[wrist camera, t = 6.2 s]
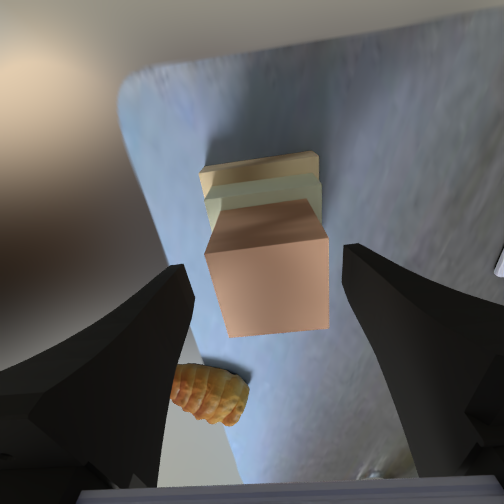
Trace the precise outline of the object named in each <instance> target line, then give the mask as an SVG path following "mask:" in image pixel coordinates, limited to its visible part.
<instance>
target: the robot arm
mask: <svg viewBox="0 0 504 504" xmlns="http://www.w3.org/2000/svg"><path fill="white" fill-rule="evenodd" d="M494 274H495V275H497V276H499V277H504V249H503V252H502V254H501V256H500V259H499V261H498V263H497V265H496V268H495V270H494ZM342 285H343V288H344V291H345V294H346V296H347V299H348V302H349V304H350V306H351V308H352V310H353V312H354V314H355V315H356V317H357V319H358V321H359V323H360V325H361V327H362V329H363V331H364V333H365V335H366V337H367V338H368V340H369V342H370V344H371V346H372V348H373V350H374V353H375V355H376V357H377V360H378V362H379V365H380V367H381V370H382V372H383V375H384V377H385V380H386V382H387V385H388V388H389V391H390V393H391V396H392V399H393V401H394V404H395V407H396V410H397V412H398V415H399V418H400V421H401V424H402V427H403V430H404V432H405V435H406V438H407V441H408V444H409V447H410V451H411V454H412V457H413V460H414V463H415V466H416V469H417V472H418V475H419V478H399V479H375V480H374V479H373V480H346V481H320V482H293V483H266V484H241V485H213V486H187V487H161V488H157V481H158V472H159V465H160V457H161V449H162V442H163V436H164V430H165V423H166V417H167V412H168V406H169V400H170V395H171V390H172V385H173V380H174V376H175V371H176V367H177V364H178V360H179V357H180V354H181V351H182V347H183V344H184V341H185V338H186V335H187V332H188V329H189V325H190V322H191V319H192V314H193V309H194V302H195V296H194V293H193V290H192V287H191V284H190V281H189V279H188V276H187V273H186V270H185V267H184V264H178V265H170V266H169V267H167V268H166V269H165V270H164V271H162V272H161V273H160V274H159V275H157V276H156V277H155V278H154V279H153V280H151V281H150V282H149V283H148V284H147V285H145V286H144V287H143V288H142V289H141V290H139V291H138V292H137V293H136V294H135V295H133V296H132V297H130V298H129V299H128V300H127V301H125V302H124V303H123V304H121V305H120V306H119V307H117V308H116V309H115V310H113V311H112V312H110V313H109V314H107V315H106V316H104V317H103V318H101V319H100V320H98V321H97V322H95V323H94V324H92V325H91V326H89V327H87V328H85V329H84V330H82V331H80V332H78V333H77V334H75V335H73V336H71V337H70V338H68V339H66V340H65V341H63V342H61V343H59V344H57V345H55V346H53V347H51V348H49V349H47V350H46V351H44V352H41V353H39V354H37V355H36V356H33V357H31V358H29V359H27V360H25V361H23V362H21V363H18V364H16V365H14V366H12V367H10V368H7V369H5V370H3V371H0V504H504V306H503V305H500V304H496V303H493V302H490V301H487V300H483V299H480V298H477V297H474V296H471V295H468V294H465V293H462V292H459V291H457V290H454V289H451V288H449V287H446V286H444V285H441V284H439V283H436V282H434V281H431V280H429V279H427V278H424V277H422V276H420V275H418V274H416V273H414V272H412V271H409V270H407V269H405V268H403V267H401V266H399V265H398V264H396V263H394V262H392V261H390V260H388V259H386V258H385V257H383V256H381V255H379V254H377V253H376V252H374V251H372V250H370V249H368V248H367V247H365V246H363V245H361V244H359V243H356V244H348V245H344V248H343V267H342Z"/></svg>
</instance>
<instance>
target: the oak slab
mask: <svg viewBox="0 0 504 504" xmlns="http://www.w3.org/2000/svg"><path fill="white" fill-rule="evenodd" d="M306 173H313V174H314V176H315V177H316V178H317V179H318V180H319V156H318V155H317V154H316V153H315V152H313V151H305V152H298V153H292V154H285V155H278V156H271V157H264V158H258V159H251V160H244V161H237V162H231V163H224V164H217V165H210V166H204V168H203V169H202V170H201V171H200V172H199V177H200V181H201V185H202V189H203V193H204V197H206V196H207V194H208V192H209V190H210V188H211V187H212V186H218V185H225V184H232V183H240V182H247V181H254V180H262V179H269V178H276V177H284V176H291V175H299V174H306Z"/></svg>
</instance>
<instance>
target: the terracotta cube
mask: <svg viewBox="0 0 504 504" xmlns="http://www.w3.org/2000/svg"><path fill="white" fill-rule="evenodd" d="M204 255H205V258H206V262H207V265H208V268H209V272H210V275H211V279H212V282H213V285H214V289H215V292H216V295H217V299H218V302H219V305H220V309H221V312H222V315H223V319H224V322H225V326H226V329H227V332H228V336H229V338H233V337H244V336H254V335H265V334H276V333H286V332H297V331H307V330H318V329H329V238H328V236H327V234H326V232H325V230H324V229H323V227H322V225H321V223H320V221H319V220H318V218H317V216H316V214H315V213H314V211H313V209H312V207H311V205H310V204H309V202H308V200H307V198H305V199H299V200H292V201H285V202H278V203H271V204H264V205H258V206H251V207H244V208H237V209H230V210H223V211H220V214H219V216H218V219H217V222H216V224H215V227H214V230H213V232H212V235H211V237H210V240H209V243H208V245H207V248H206V251H205V253H204Z"/></svg>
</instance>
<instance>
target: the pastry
mask: <svg viewBox="0 0 504 504" xmlns="http://www.w3.org/2000/svg"><path fill="white" fill-rule="evenodd" d="M249 390H250V389H249V387H248V385H247V384H246V383H245V382H244V381H243V379H242V378H241V377H240V376H239V375H237V374H236V375H233V374H231V373H229V372H228V371H227V370H224V369H220V368H214V367H211V366H204V365H203V364H196V363H192V364H191V363H188V364H177V367H176V371H175V376H174V380H173V385H172V390H171V395H170V399H172V401H173V403H174V404H176V405H178V406H181V407H182V409H183V411H185V412H190V413H192V414H193V415H194V416H195V418H196V419H197V420H200V419H206V420H207V422H208V423H210V424H215V423H217V422H222V423H223V424H224V425H225V426H233V425H234V424H235V423H237V422H238V421H239V419H240V416H241V414H242V413H243V411H244V409H245V406H246V403H247V400H248V395H249Z"/></svg>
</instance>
